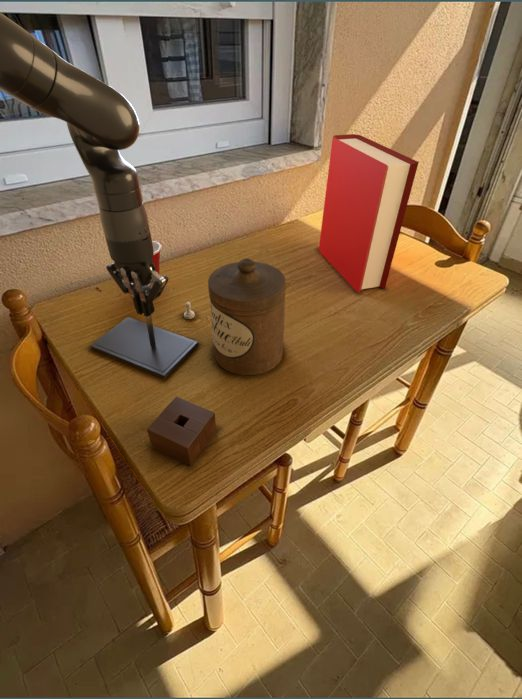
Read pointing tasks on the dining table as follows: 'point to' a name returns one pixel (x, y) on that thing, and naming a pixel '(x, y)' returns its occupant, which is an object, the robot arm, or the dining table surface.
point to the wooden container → (247, 316)
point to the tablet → (145, 347)
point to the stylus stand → (182, 430)
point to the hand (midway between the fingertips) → (145, 313)
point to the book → (364, 208)
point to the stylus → (150, 331)
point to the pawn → (189, 311)
